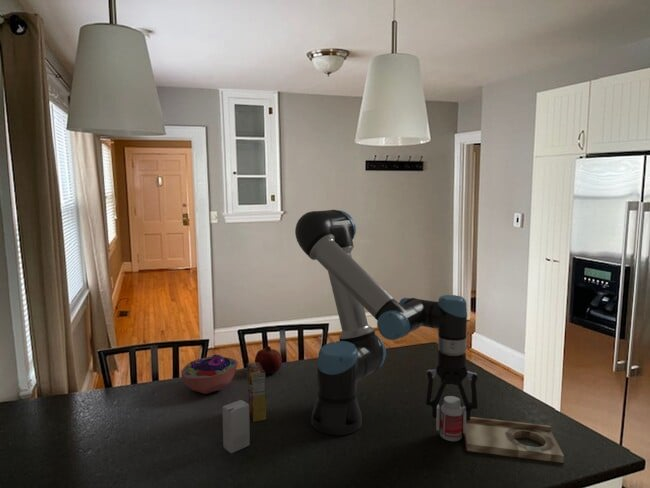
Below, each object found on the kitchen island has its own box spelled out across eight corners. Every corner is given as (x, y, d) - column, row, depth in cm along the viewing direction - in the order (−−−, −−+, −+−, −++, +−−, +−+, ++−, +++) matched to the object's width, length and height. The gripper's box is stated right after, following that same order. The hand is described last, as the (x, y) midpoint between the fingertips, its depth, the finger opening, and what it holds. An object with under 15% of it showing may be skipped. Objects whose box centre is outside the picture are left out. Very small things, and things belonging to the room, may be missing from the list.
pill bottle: (466, 438, 128) (468, 401, 127) (451, 444, 125) (453, 406, 123) (449, 428, 133) (451, 392, 132) (434, 434, 130) (436, 397, 128)
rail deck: (466, 450, 122) (467, 439, 121) (462, 426, 135) (463, 415, 134) (563, 462, 117) (564, 451, 117) (549, 436, 130) (550, 425, 129)
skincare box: (241, 439, 126) (241, 398, 125) (250, 446, 123) (250, 404, 121) (222, 447, 122) (221, 405, 120) (231, 455, 119) (230, 411, 117)
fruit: (249, 371, 172) (249, 346, 171) (270, 365, 179) (270, 340, 178) (265, 380, 164) (265, 354, 163) (287, 373, 171) (287, 347, 170)
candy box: (247, 408, 143) (246, 362, 142) (260, 406, 145) (260, 361, 143) (252, 422, 135) (251, 373, 133) (266, 420, 137) (266, 372, 135)
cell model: (170, 391, 155) (169, 359, 154) (219, 373, 170) (218, 344, 169) (199, 407, 144) (198, 373, 143) (248, 386, 159) (248, 356, 158)
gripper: (416, 354, 124) (415, 433, 127) (490, 358, 120) (488, 439, 123) (416, 344, 132) (416, 419, 134) (486, 348, 128) (485, 425, 130)
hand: (450, 429), depth 129 cm, fingers open, 7 cm apart
